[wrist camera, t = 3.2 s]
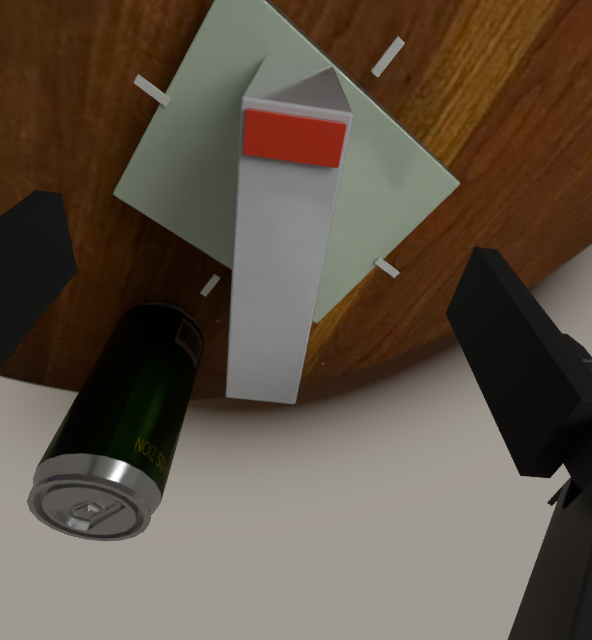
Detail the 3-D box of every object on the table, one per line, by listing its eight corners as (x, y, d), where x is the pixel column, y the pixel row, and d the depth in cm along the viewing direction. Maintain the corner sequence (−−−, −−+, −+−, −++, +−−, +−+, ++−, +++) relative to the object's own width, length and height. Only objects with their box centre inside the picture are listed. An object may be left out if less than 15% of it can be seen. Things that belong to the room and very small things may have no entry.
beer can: (164, 282, 25) (79, 460, 16) (223, 341, 28) (181, 523, 18) (102, 322, 27) (-7, 502, 17) (163, 373, 30) (97, 553, 20)
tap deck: (496, 144, 20) (519, 162, 18) (308, 328, 27) (308, 357, 25) (245, -116, 15) (236, -133, 13) (92, 194, 22) (69, 216, 20)
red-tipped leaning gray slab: (297, 286, 22) (295, 410, 16) (247, 280, 22) (224, 403, 15) (333, 65, 16) (355, 116, 10) (265, 54, 16) (239, 98, 9)
